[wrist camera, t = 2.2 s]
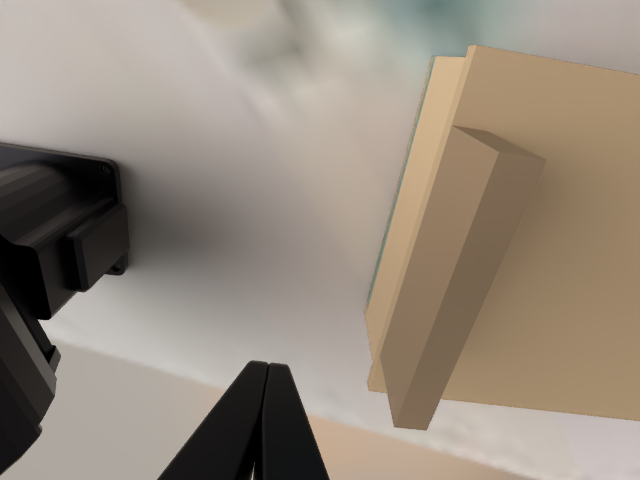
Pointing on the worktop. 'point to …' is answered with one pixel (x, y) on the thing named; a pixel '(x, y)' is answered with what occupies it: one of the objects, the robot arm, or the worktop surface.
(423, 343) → the lid
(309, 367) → the worktop surface
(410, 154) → the mailer box
